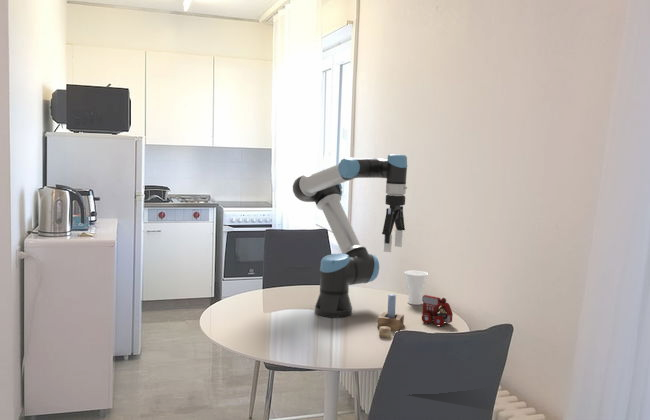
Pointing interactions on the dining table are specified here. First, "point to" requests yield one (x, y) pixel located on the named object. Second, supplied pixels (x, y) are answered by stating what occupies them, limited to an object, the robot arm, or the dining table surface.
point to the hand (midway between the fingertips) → (392, 249)
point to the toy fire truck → (436, 310)
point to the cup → (415, 285)
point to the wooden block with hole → (391, 321)
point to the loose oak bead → (384, 332)
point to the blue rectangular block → (391, 305)
